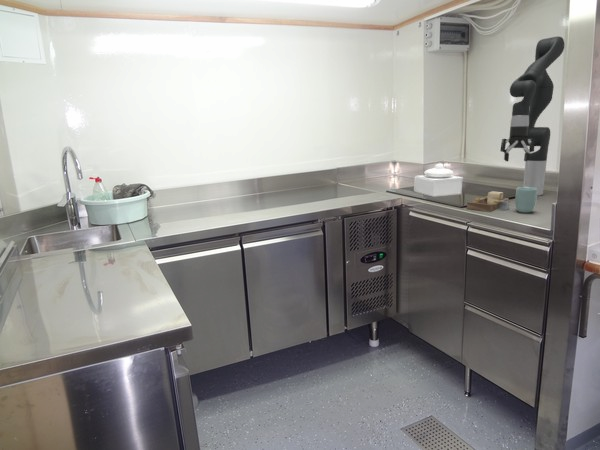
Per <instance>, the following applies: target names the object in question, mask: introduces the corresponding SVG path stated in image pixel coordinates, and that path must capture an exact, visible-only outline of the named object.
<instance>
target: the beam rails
mask: <svg viewBox="0 0 600 450" xmlns="http://www.w3.org/2000/svg"><path fill="white" fill-rule="evenodd" d="M487 198H488V195H487V196H483V197H481V198H474V199H473V200H472V201H467V202H466V203H467V204H466V210H472V211H478V212H479V211H480V212H488V213H491V212H494V211H495V210H498V206H499V204H500V201H510V200H509V199H510V198H505V197H504V198H503V199H502V200H500V201H496V200H495V201H494V203H492V204H487Z"/></svg>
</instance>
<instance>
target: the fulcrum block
mask: <svg viewBox="0 0 600 450" xmlns="http://www.w3.org/2000/svg"><path fill="white" fill-rule="evenodd" d="M509 201H510V200H509ZM509 201H500V204H499V206H498V209H497V210H499V211H508V210H509V209H510V204H509Z"/></svg>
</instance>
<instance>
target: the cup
mask: <svg viewBox="0 0 600 450" xmlns="http://www.w3.org/2000/svg"><path fill="white" fill-rule="evenodd" d="M537 198H538V196H537V188H533V187H523V186H518V187H516V190H515V197H514V199H515V200H514V201H515V203H514V204H515V209H516V211H517V212H518V213H524V214H525V213H526V214H527V213H532V212H533V211H534V210H535V207H536V204H537V200H538V199H537Z"/></svg>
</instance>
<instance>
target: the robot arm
mask: <svg viewBox="0 0 600 450" xmlns="http://www.w3.org/2000/svg"><path fill="white" fill-rule="evenodd" d="M564 50H565V39H564V38H563V37H562V36H552V37H548V38H542V39H540V40H539V41H538V42H537V43H536V47H535V56H534V57H535V59H534V61H533V62H532V63H531V64H530V65H529V66H528V67H527V68H526V69H525V71H524V73H523V74H521V75H520V76H519V77H518V78H516V79H515V80H514V81H513V82H512V83H511V84H510V87H509V94H510V95H511V96H512V97H513V98H522V100H520V101H517V102H515V103H513V105H512V110H511V118H510V119H511V120H510V127H509V128H510V129H509V137H508V138H502V139H501V144H500V152H502V153H503V154H504V155H503V160H504V161H505V162H509V160H510V159H509V158H510V157H509V155H510V151H511V150H513V149H522V151H524V152H525V153H524V159H523V161H524V162H525V163H524V172H523V174H524V175H523V185H522V187H533V188H537V197H539V196H543V194H544V188H545V181H546V180H545V179H546V172H547V171H546V169H547V161H548V160H547V159H548V152H549V145H550V141H551V140H550V139H551V129H550V127H548V126H544V127H543V126H536V123H537V120H538V118H539V117H540V115H542V113H543V112H544V111H545V110H546V108H547V107H548V106H549V104H550V103H551V101H552V100H553V95H554V94H553V93H554V89H555V87H554V83H553V81H552V79H551V77H550V75H549V73H548V72H547V69H548V68H549V67H550V66H551V65H552V64H553V63H554V62H556V60H557V59H558V58H559V57H560V56H561V55H562V54H563V52H564ZM508 143H509V145H508V146H507V147H506V145H507V144H508ZM535 147H540V148H539V149H538V150H536V151H535Z"/></svg>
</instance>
